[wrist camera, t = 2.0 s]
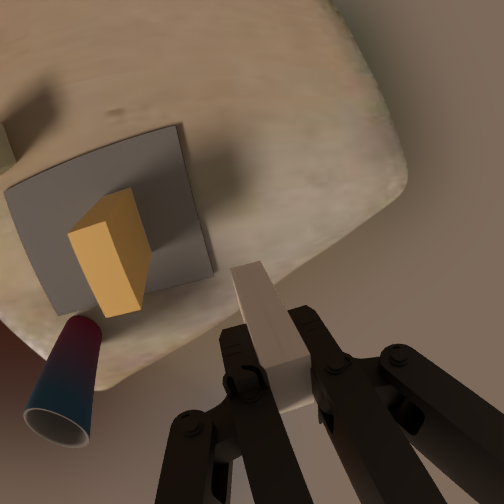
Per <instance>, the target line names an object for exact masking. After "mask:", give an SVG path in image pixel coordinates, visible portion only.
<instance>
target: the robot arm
mask: <svg viewBox="0 0 504 504" xmlns="http://www.w3.org/2000/svg"><path fill="white" fill-rule="evenodd" d="M230 272H231V276H232V280H233V284H234V288H235V291H236V295H237V299H238V303H239V307H240V311H241V314H242V317H243V320H244V324H242V325H238V326H234V327H231V328H227V329H223V330H222V332H221V335H220V338H219V342H220V347H221V352H222V357H223V362H224V367H225V372H226V373H225V375H224V377H223V386H224V388H225V391H226V393H227V396H226V398H225V399H224V400H223V401H222V403H221V404H219V405H218V406H216V407H215V408H213V409H211V410H209V411H207V412H205V413H204V412H203V411H200V410H188V411H185V412H183V413H181V414H179V415H178V416H177V417H176V418H175V419H174V421H173V423H172V425H171V428H170V432H169V437H168V441H167V446H166V450H165V455H164V460H163V464H162V469H161V474H160V479H159V484H158V489H157V494H156V499H155V504H230V496H231V482H232V467H233V460H234V459H236V458H238V457H240V456H241V455H242V457H243V461H244V464H245V469H246V472H247V476H248V480H249V484H250V488H251V491H252V495H253V499H254V502H255V504H314V503H313V501H312V498H311V496H310V493H309V491H308V488H307V485H306V483H305V480H304V478H303V475H302V472H301V470H300V467H299V464H298V462H297V459H296V457H295V454H294V451H293V448H292V446H291V444H290V441H289V438H288V435H287V432H286V430H285V427H284V424H283V421H282V419H281V416H280V413H283V412H286V411H290V410H293V409H296V408H299V407H302V406H305V405H308V404H311V403H313V402H314V398H315V400H316V402H317V404H318V419H319V424H321V423H322V422H323V424H324V426H325V428H326V430H327V432H328V435H329V437H330V439H331V441H332V443H333V445H334V447H335V449H336V451H337V454H338V456H339V458H340V460H341V462H342V464H343V466H344V469H345V471H346V473H347V475H348V477H349V479H350V481H351V483H352V486H353V488H354V489H355V492H356V494H357V496H358V498H359V500H360V502H361V504H447V503H446V501H445V499H444V498H443V496H442V494H441V493H440V491H439V489H438V488H437V486H436V484H435V483H434V481H433V479H432V478H431V476H430V475H429V473H428V471H427V470H426V468H425V467H424V465H423V463H422V462H421V460H420V459H419V457H418V455H417V454H416V452H415V451H414V449H413V448H412V446H411V444H412V445H413V446H414V447H415V448H416V449H417V450H418V451H419V452H421V453H422V454H423V455H424V456H425V457H426V458H427V459H429V460H430V461H431V462H432V463H433V464H434V465H435V466H436V467H437V468H439V469H440V470H441V471H442V472H443V473H444V474H445V475H447V476H448V477H449V478H450V479H451V480H452V481H454V482H455V483H456V484H457V485H458V486H459V487H461V488H462V489H463V490H464V491H465V492H466V493H468V494H469V495H470V496H471V497H472V498H474V499H475V500H476V501H477V502H478V503H479V504H504V414H503V413H501V412H500V411H498V410H497V409H496V408H495V407H493V406H492V405H491V404H489V403H488V402H487V401H485V400H484V399H482V398H481V397H479V396H478V395H477V394H475V393H474V392H473V391H471V390H470V389H469V388H467V387H466V386H464V385H463V384H462V383H460V382H459V381H458V380H456V379H455V378H453V377H452V376H451V375H449V374H448V373H446V372H445V371H444V370H442V369H441V368H440V367H438V366H437V365H435V364H434V363H433V362H431V361H430V360H428V359H427V358H426V357H424V356H423V355H421V354H420V353H418V352H417V351H416V350H414V349H413V348H411V347H409V346H407V345H404V344H392V345H390V346H388V347H386V348H385V349H384V350H383V351H382V352H381V355H380V357H373V358H364V359H358V358H353V357H352V356H351V355H349V354H347V353H344V352H342V350H341V349H340V347H339V346H338V344H337V343H336V341H335V340H334V338H333V337H332V335H331V334H330V332H329V331H328V329H327V328H326V327H325V325H324V323H323V322H322V320H321V319H320V317H319V316H318V314H317V313H316V311H315V310H313V309H312V308H310V307H308V306H307V305H304V306H301V307H298V308H295V309H291V310H288V311H287V310H286V308H285V306H284V304H283V302H282V301H281V299H280V297H279V295H278V293H277V291H276V289H275V287H274V286H273V284H272V282H271V280H270V278H269V276H268V274H267V273H266V271H265V269H264V267H263V265H262V263H261V261H257V262H254V263H250V264H246V265H242V266H239V267H235V268H231V269H230ZM409 442H410V443H411V444H410V443H409Z"/></svg>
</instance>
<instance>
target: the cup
mask: <svg viewBox="0 0 504 504" xmlns="http://www.w3.org/2000/svg"><path fill="white" fill-rule="evenodd" d="M101 339H102V333H101V330H100V328H99V327H98V325H97V324H96V323H95V322H94V321H92V320H91V319H89V318H87V317H83V316H74V317H71V318H70V319H69V320H68V321H67V322H66V324H65V326H64V328H63V330H62V332H61V334H60V335H59V337H58V339H57V341H56V343H55V345H54V347H53V349H52V351H51V353H50V355H49V357H48V359H47V361H46V363H45V365H44V367H43V369H42V372H41V374H40V376H39V378H38V380H37V383H36V385H35V387H34V389H33V391H32V394H31V396H30V398H29V401H28V403H27V406H26V408H25V411H24V414H23V416H24V420H25V421H26V423H27V425H28V426H29V427H30V428H31V429H32V430H33V431H34V432H35V433H37V434H38V435H40V436H41V437H42V438H44V439H46V440H48V441H50V442H52V443H55V444H58V445H61V446H65V447H71V448H80V447H84V446H86V445H88V443H89V441H90V427H91V413H92V403H93V394H94V385H95V377H96V370H97V363H98V357H99V350H100V344H101Z"/></svg>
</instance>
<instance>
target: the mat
mask: <svg viewBox="0 0 504 504" xmlns="http://www.w3.org/2000/svg"><path fill="white" fill-rule="evenodd" d="M130 187H131V190H132V193H133V197H134V200H135V203H136V206H137V210H138V213H139V216H140V219H141V222H142V225H143V228H144V231H145V234H146V237H147V240H148V243H149V246H150V249H151V252H152V254H151V259H150V264H149V269H148V274H147V279H146V285H145V290H144V294H148V293H152V292H155V291H159V290H163V289H167V288H171V287H175V286H179V285H182V284H186V283H190V282H194V281H198V280H201V279H205V278H209V277H213V276H214V274H213V270H212V267H211V263H210V259H209V256H208V252H207V249H206V245H205V241H204V238H203V234H202V230H201V227H200V223H199V219H198V215H197V211H196V208H195V204H194V200H193V196H192V192H191V188H190V184H189V180H188V176H187V172H186V168H185V164H184V160H183V155H182V151H181V147H180V143H179V138H178V134H177V130H176V125H175V126H171V127H167V128H164V129H160V130H157V131H153V132H150V133H146V134H143V135H140V136H137V137H133V138H130V139H127V140H124V141H121V142H118V143H115V144H112V145H109V146H107V147H104V148H101V149H98V150H96V151H93V152H90V153H88V154H85V155H82V156H80V157H77V158H75V159H72V160H70V161H68V162H65V163H63V164H60V165H58V166H56V167H54V168H51V169H49V170H47V171H45V172H42V173H40V174H38V175H36V176H34V177H32V178H30V179H28V180H25V181H23V182H21V183H19V184H17V185H15V186H14V187H12V188H10V189H8V190H6V191H4V195H5V199H6V202H7V205H8V208H9V210H10V213H11V216H12V219H13V222H14V224H15V227H16V229H17V232H18V234H19V237H20V239H21V242H22V244H23V247H24V249H25V251H26V254H27V256H28V258H29V260H30V263H31V265H32V267H33V269H34V271H35V273H36V275H37V277H38V279H39V281H40V283H41V285H42V287H43V289H44V291H45V293H46V295H47V297H48V299H49V301H50V303H51V304H52V306H53V308H54V310H55V312H56V313H57V315H58V316H60V315H64V314H68V313H72V312H76V311H80V310H84V309H88V308H92V307H96V306H99V304H98V302H97V300H96V298H95V296H94V294H93V291H92V289H91V287H90V285H89V283H88V281H87V279H86V277H85V275H84V272H83V270H82V268H81V266H80V263H79V261H78V259H77V256H76V254H75V252H74V249H73V247H72V244H71V242H70V239H69V237H68V232H69V231H70V230H71V229H72V228H73V227H74V226H75V225H76V224H77V223H78V222H79V220H80V219H81V218H82V217H83V216H84V215H85V214H86V213H87V212H88V211H89V210H90V209H91V208H92V207H93V206H94V205H95V204H96V203H97V202H98V201H99V200H100V199H101V198H102V197H103V196H105V195H108V194H111V193H114V192H117V191H121V190H124V189H127V188H130Z"/></svg>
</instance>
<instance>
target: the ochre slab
mask: <svg viewBox="0 0 504 504" xmlns="http://www.w3.org/2000/svg"><path fill="white" fill-rule="evenodd" d="M68 237H69V239H70V242H71V244H72V247H73V249H74V252H75V254H76V256H77V259H78V261H79V263H80V266H81V268H82V270H83V272H84V275H85V277H86V279H87V281H88V283H89V285H90V287H91V289H92V291H93V294H94V296H95V298H96V300H97V302H98V304H99V306H100V307H101V309H102V311H103V313H104V315H105V317H106V318H108V317H113V316H117V315H121V314H125V313H129V312H133V311H137V310H141V308H142V302H143V296H144V290H145V285H146V279H147V274H148V269H149V264H150V259H151V254H152V252H151V249H150V246H149V243H148V240H147V237H146V234H145V231H144V228H143V225H142V222H141V219H140V216H139V213H138V210H137V206H136V203H135V200H134V197H133V193H132V190H131V187H130V188H127V189H124V190H121V191H117V192H114V193H111V194H108V195H105V196H103V197H102V198H101V199H100V200H99V201H98V202H97V203H96V204H95V205H94V206H93V207H92V208H91V209H90V210H89V211H88V212H87V213H86V214H85V215H84V216H83V217H82V218H81V219H80V220H79V222H78V223H77V224H76V225H75V226H74V227H73V228H72V229H71V230H70V231H69V232H68Z"/></svg>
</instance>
